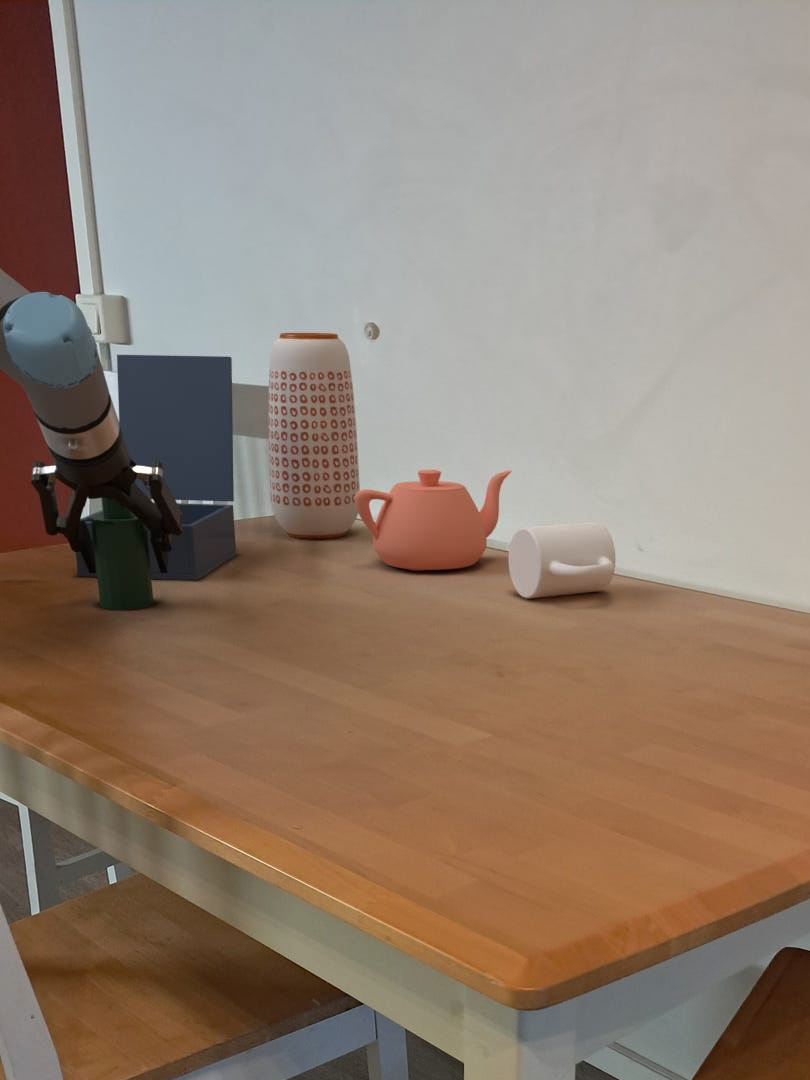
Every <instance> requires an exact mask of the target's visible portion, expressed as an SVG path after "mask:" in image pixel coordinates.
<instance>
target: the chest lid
mask: <svg viewBox="0 0 810 1080" xmlns="http://www.w3.org/2000/svg"><path fill="white" fill-rule="evenodd" d="M232 363H233V359H232V357H231V356H222V355H221V356H219V355H218V356H217V355H216V356H215V355H212V356H211V355H163V354H162V355H158V354H157V355H155V354H116V366H117V367H116V368H117V369H116V371H117V390H118V391H117V395H118V398H117V399H118V400H117V401H118V420H119V425H120V427H121V430H122V434H123V437H124V440H125V443H126V446H127V450H128V453H129V456H130V458H131V459H133V460H134V461H135V462H136V464H137V465H138V466H146V467H151V464H152V462H154V461H158V462H161V463H162V464H163V477H164V479H165V481H166V483H167V485H168V487H169V489H170V491H171V492H172V494H173V496H174V498H175V500H176V501H201V502H202V501H204V502H234V501H235V498H234V497H235V495H234V494H235V493H234V491H235V489H234V488H235V487H234V485H235V484H234V431H233V430H234V427H233V425H234V424H233V423H234V422H233V370H232V369H233V364H232ZM135 483H136V485H137V486H138V487H139V488H140V489H141V490H142V492H143V493H144V494H145V495H146V496H147V497H148V498H149V499H150V500H153V499H152V496H151V494H150V490H147V489H146V488H145V485H144V484H143V482H142V480H140V479H138V478H136V480H135Z"/></svg>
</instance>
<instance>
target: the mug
mask: <svg viewBox="0 0 810 1080" xmlns="http://www.w3.org/2000/svg"><path fill="white" fill-rule="evenodd" d="M508 548H509V549H508V569H509V576H510V579H511V582H512V585H513V587H514V589H515V591H516V592H517V593H518V594H519V595H520V596H521V597H522V598H524V599H537V598H546V597H556V596H567V595H575V594H585V593H595V592H602V591H604V590H605V589H607V588H608V586H609V585H610V584H611V582H612V580H613V578H614V574H615V570H616V547H615V545H614V540H613V537H612V535H611V533H610V531H609V530H608V528H607V527H606V526H605V524H603V523H601V522H598V521H590V522H589V521H588V522H576V523H563V524H549V525H536V526H523V527H520V528H518V529H517V530H516V531H515V533H514V534H513V535H512V538H511V540H510V544H509V547H508Z"/></svg>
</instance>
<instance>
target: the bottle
mask: <svg viewBox="0 0 810 1080" xmlns="http://www.w3.org/2000/svg"><path fill="white" fill-rule="evenodd" d="M100 500H101V508H102V509H101V510H103V514H98V515H94V516H92V517H91V525H92V534H93V543H94V552H95V561H96V570H97V577H96V578H97V587H98V596H99V597H98V598H99V604H100V607H101V608H104V609H107V610H114V611H129V610H131V611H132V610H139V609H144V608H149V607H151V606H153V605H154V593H153V579H151V569H150V558H149V548H148V537H147V527H146V526H145V525H144V524H143V523H142V522H141V521H140V520H139V519H138V518H137V517H136V516H135V515H134V514H133V513H132V512H131V511H130V510H129V509H128V508H127V507H122V506H121V505H120V504H119V503H118V502H117V501H116V500H115V499H108V498H100Z"/></svg>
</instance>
